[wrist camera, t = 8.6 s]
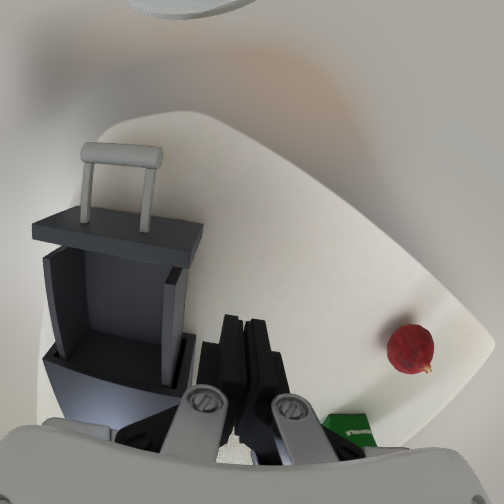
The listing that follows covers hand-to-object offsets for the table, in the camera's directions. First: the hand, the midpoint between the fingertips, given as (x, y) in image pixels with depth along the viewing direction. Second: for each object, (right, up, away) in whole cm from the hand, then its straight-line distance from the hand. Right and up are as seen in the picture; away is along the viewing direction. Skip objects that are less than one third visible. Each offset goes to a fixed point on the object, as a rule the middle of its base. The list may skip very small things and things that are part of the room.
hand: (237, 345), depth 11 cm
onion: (+19, -6, +19) cm, 28 cm away
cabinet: (-13, -11, +19) cm, 25 cm away
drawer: (-10, +4, +13) cm, 17 cm away
